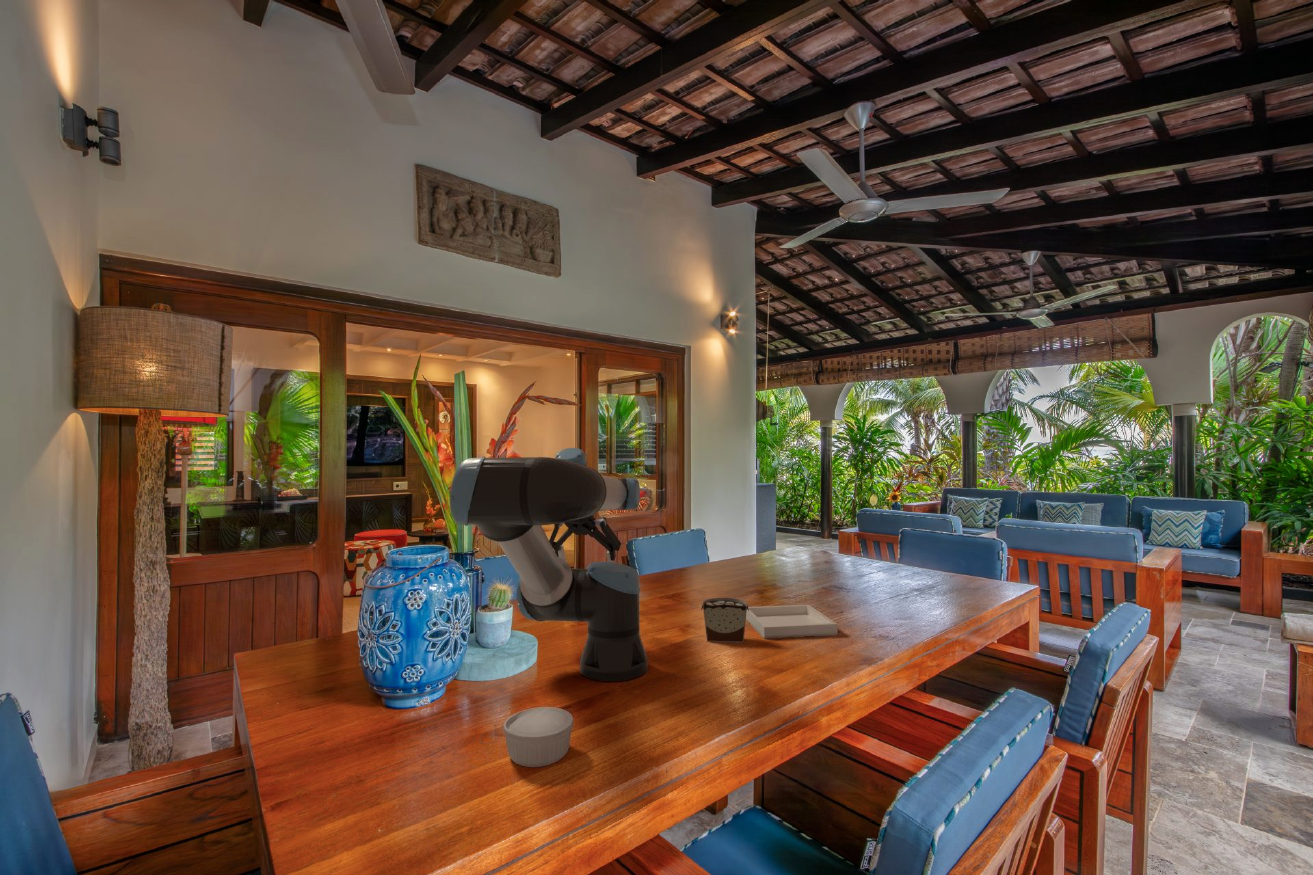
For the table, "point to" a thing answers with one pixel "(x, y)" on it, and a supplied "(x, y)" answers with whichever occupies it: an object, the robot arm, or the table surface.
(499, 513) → the robot arm
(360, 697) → the table surface
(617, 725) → the table surface
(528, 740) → the ramekin
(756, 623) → the tray
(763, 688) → the table surface
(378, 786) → the table surface
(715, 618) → the grey brown half-round piece
